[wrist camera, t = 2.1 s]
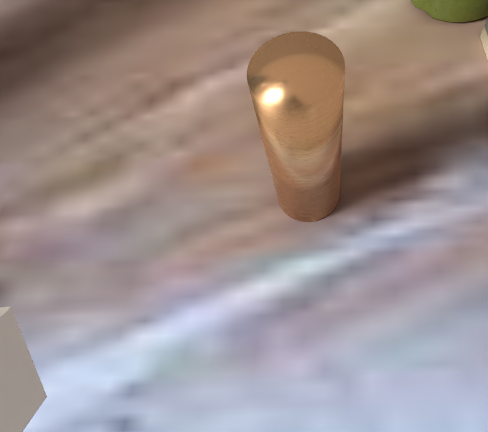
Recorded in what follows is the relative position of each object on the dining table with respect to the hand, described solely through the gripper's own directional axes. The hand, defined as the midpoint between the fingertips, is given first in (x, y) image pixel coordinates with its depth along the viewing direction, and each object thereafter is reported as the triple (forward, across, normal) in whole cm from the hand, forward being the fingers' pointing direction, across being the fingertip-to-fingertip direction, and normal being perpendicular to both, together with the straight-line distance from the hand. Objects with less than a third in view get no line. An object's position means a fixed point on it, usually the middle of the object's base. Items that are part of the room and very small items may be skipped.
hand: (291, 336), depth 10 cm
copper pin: (+20, 0, -3) cm, 20 cm away
